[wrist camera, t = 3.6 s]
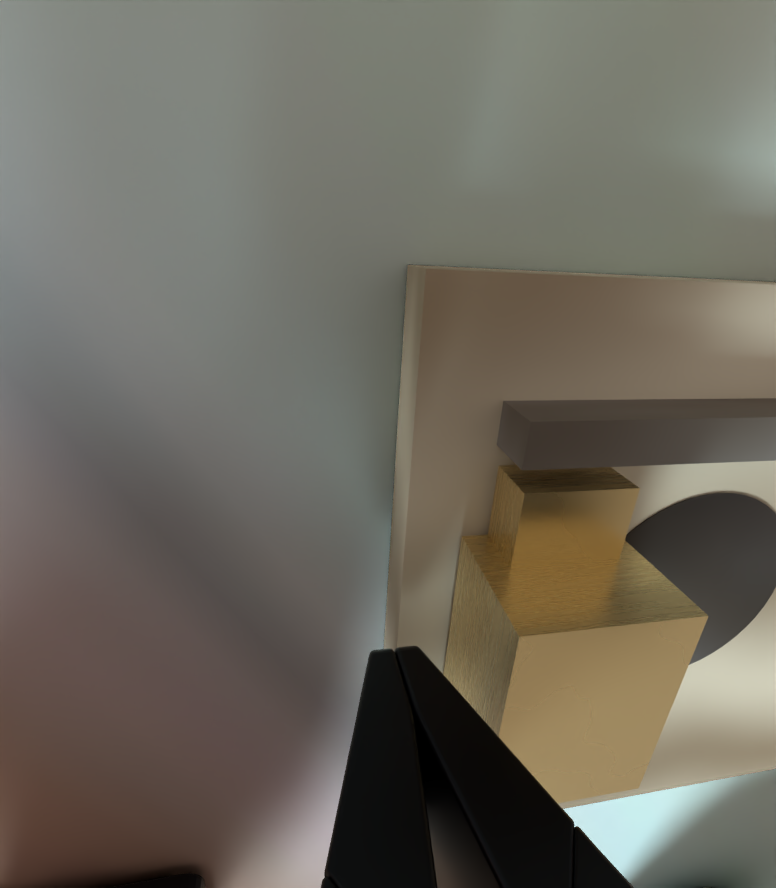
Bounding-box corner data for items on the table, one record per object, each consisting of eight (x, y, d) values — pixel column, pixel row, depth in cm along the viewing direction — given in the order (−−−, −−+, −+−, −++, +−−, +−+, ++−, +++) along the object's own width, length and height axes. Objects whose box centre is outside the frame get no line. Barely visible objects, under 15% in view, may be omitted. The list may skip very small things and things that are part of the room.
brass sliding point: (568, 676, 11) (638, 788, 8) (441, 693, 10) (481, 817, 8) (628, 461, 9) (740, 536, 6) (471, 466, 8) (537, 550, 6)
